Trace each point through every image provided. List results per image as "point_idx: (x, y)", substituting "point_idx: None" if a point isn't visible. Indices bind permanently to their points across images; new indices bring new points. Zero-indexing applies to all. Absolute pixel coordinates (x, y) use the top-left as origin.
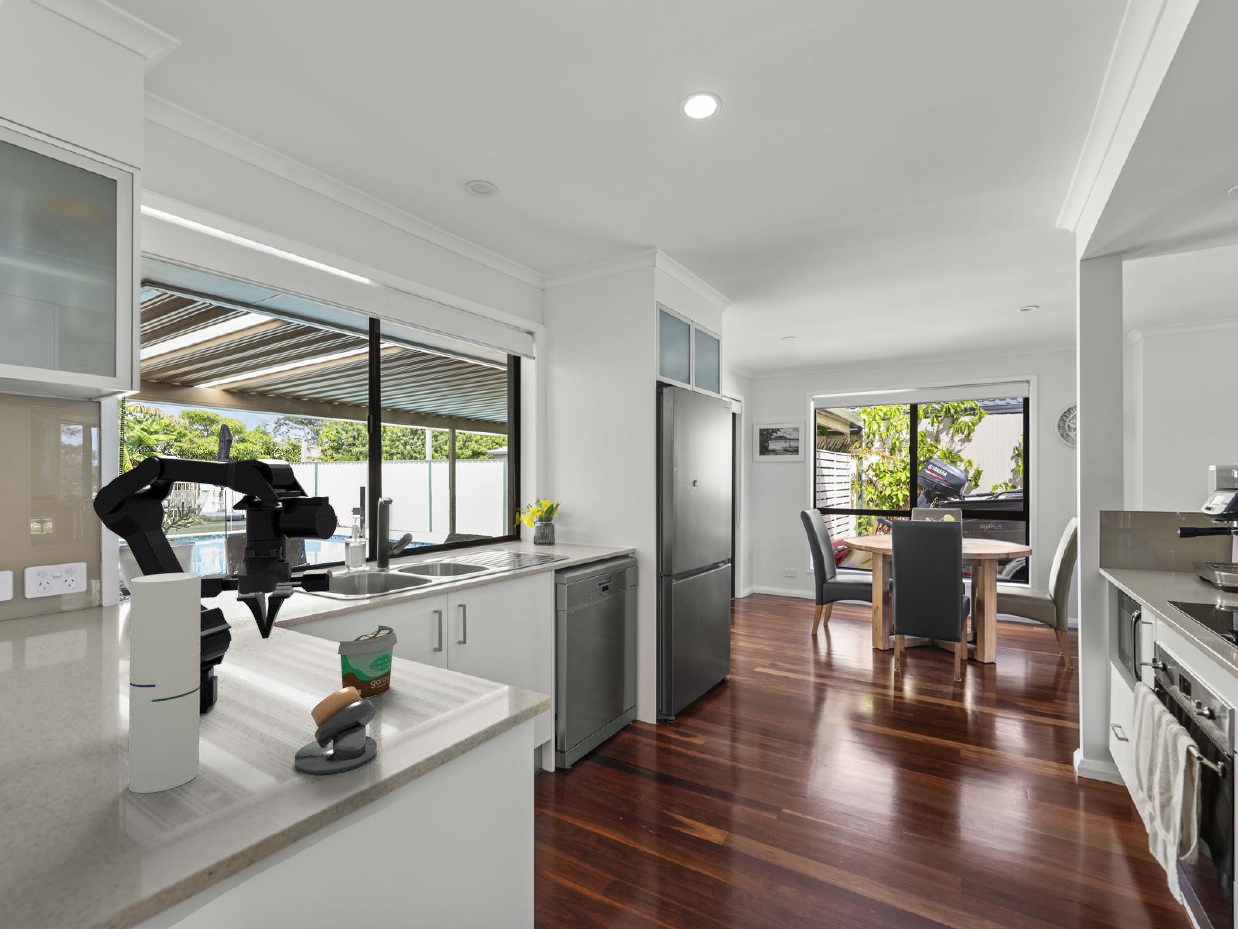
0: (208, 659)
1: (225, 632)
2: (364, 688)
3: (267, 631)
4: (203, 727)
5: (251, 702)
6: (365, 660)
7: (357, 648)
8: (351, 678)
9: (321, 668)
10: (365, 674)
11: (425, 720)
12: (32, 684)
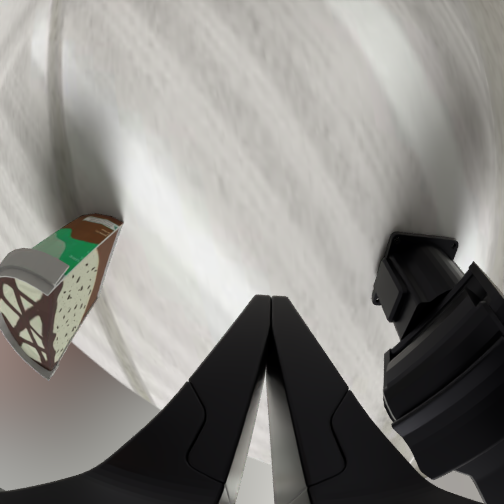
0: (432, 323)
1: (407, 406)
2: (76, 222)
3: (255, 317)
4: (392, 156)
5: (310, 272)
6: (35, 248)
7: (20, 258)
8: (82, 232)
9: None
10: (56, 234)
11: (3, 82)
12: None
